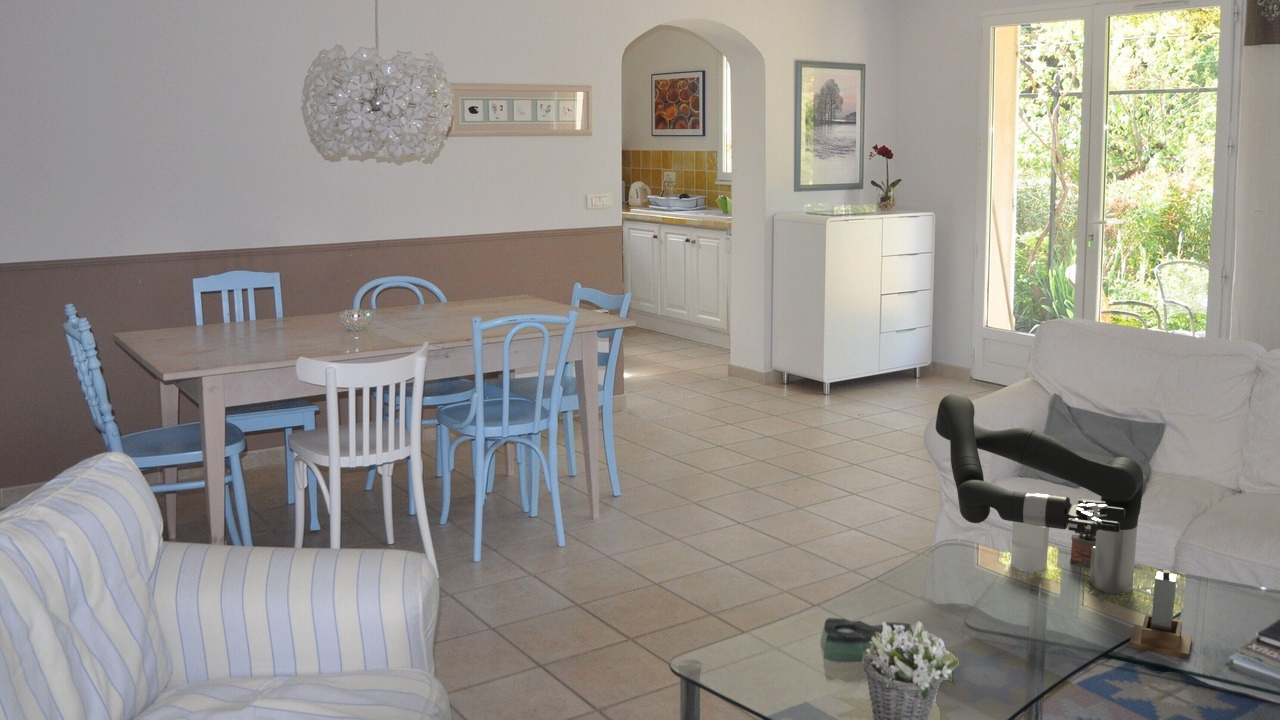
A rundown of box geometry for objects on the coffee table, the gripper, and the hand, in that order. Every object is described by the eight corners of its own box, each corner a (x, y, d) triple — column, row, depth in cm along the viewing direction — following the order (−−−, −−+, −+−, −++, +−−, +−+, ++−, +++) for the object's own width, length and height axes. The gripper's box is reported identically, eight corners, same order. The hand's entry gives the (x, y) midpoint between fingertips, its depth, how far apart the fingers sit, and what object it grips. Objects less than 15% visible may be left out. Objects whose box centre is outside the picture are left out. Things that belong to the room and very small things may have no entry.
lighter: (1103, 565, 291) (1106, 530, 289) (1101, 570, 289) (1103, 534, 286) (1071, 559, 296) (1073, 524, 293) (1068, 564, 293) (1070, 528, 290)
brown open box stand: (1129, 646, 252) (1130, 628, 251) (1134, 629, 259) (1135, 610, 258) (1188, 658, 246) (1190, 639, 245) (1191, 640, 254) (1193, 621, 252)
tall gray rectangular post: (1149, 640, 252) (1155, 573, 247) (1151, 632, 255) (1157, 566, 251) (1169, 644, 250) (1175, 576, 245) (1171, 636, 253) (1177, 569, 249)
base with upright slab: (1052, 562, 294) (1055, 520, 291) (1037, 574, 288) (1040, 531, 285) (1019, 553, 300) (1022, 512, 297) (1004, 565, 294) (1006, 522, 291)
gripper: (1040, 506, 251) (1118, 516, 243) (1052, 484, 263) (1127, 493, 255) (1040, 537, 253) (1117, 548, 245) (1051, 514, 265) (1125, 524, 257)
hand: (1122, 520), depth 250 cm, fingers open, 8 cm apart
